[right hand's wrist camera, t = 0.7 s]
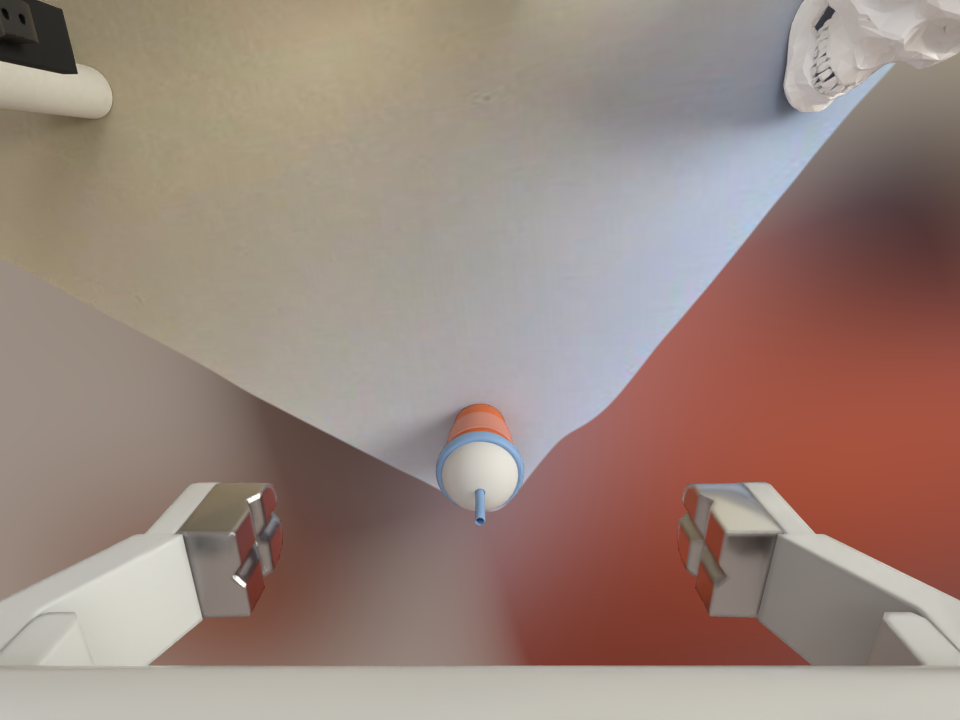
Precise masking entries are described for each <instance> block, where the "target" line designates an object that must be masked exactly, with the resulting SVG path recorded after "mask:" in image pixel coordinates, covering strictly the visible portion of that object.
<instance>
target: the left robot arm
mask: <svg viewBox="0 0 960 720" xmlns="http://www.w3.org/2000/svg"><path fill="white" fill-rule="evenodd" d="M0 61H2V62H7V63H11V64H16V65H21V66H26V67H30V68H35V69H40V70H45V71H49V72H54V73H59V74H78V71H77V67H76V63H75V59H74V55H73V51H72V47H71V43H70V39H69V35H68V31H67V27H66V23H65V19H64V15H63V11H62V9H60V8H57V7H54V6H51V5H49V4H46V3H43V2H40V1H38V0H0Z"/></svg>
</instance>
